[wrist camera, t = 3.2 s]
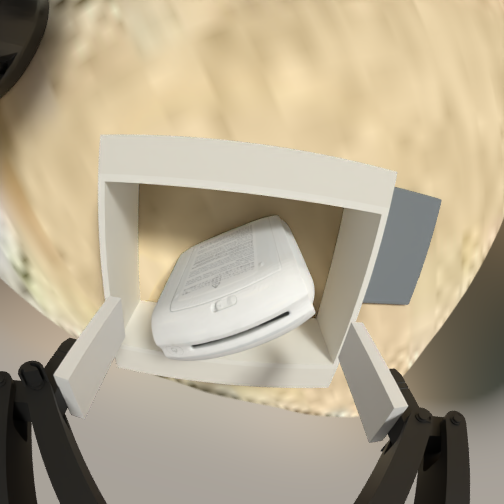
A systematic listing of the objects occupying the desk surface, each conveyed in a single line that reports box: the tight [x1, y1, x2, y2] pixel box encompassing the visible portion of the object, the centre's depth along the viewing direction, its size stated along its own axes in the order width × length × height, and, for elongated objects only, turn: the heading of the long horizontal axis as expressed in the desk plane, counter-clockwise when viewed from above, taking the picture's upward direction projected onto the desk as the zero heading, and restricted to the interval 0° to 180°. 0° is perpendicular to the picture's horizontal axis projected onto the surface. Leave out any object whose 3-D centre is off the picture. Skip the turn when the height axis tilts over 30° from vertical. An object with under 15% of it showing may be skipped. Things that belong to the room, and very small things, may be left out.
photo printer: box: [151, 215, 315, 361], centre depth 20 cm, size 10×4×12 cm, turn 112°
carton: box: [98, 135, 397, 388], centre depth 23 cm, size 19×19×7 cm
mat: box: [363, 187, 441, 305], centre depth 26 cm, size 7×12×1 cm, turn 173°
